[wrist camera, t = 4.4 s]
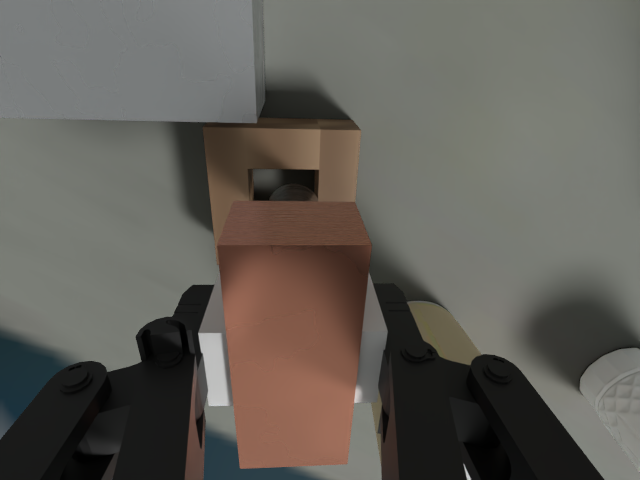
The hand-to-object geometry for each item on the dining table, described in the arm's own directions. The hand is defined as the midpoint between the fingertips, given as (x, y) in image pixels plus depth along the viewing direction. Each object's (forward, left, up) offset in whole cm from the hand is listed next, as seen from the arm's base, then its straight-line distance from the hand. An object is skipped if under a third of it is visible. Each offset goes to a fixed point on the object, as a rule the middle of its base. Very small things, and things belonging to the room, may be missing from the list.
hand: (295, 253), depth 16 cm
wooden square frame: (+1, 0, -9) cm, 9 cm away
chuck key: (0, 0, -5) cm, 5 cm away
